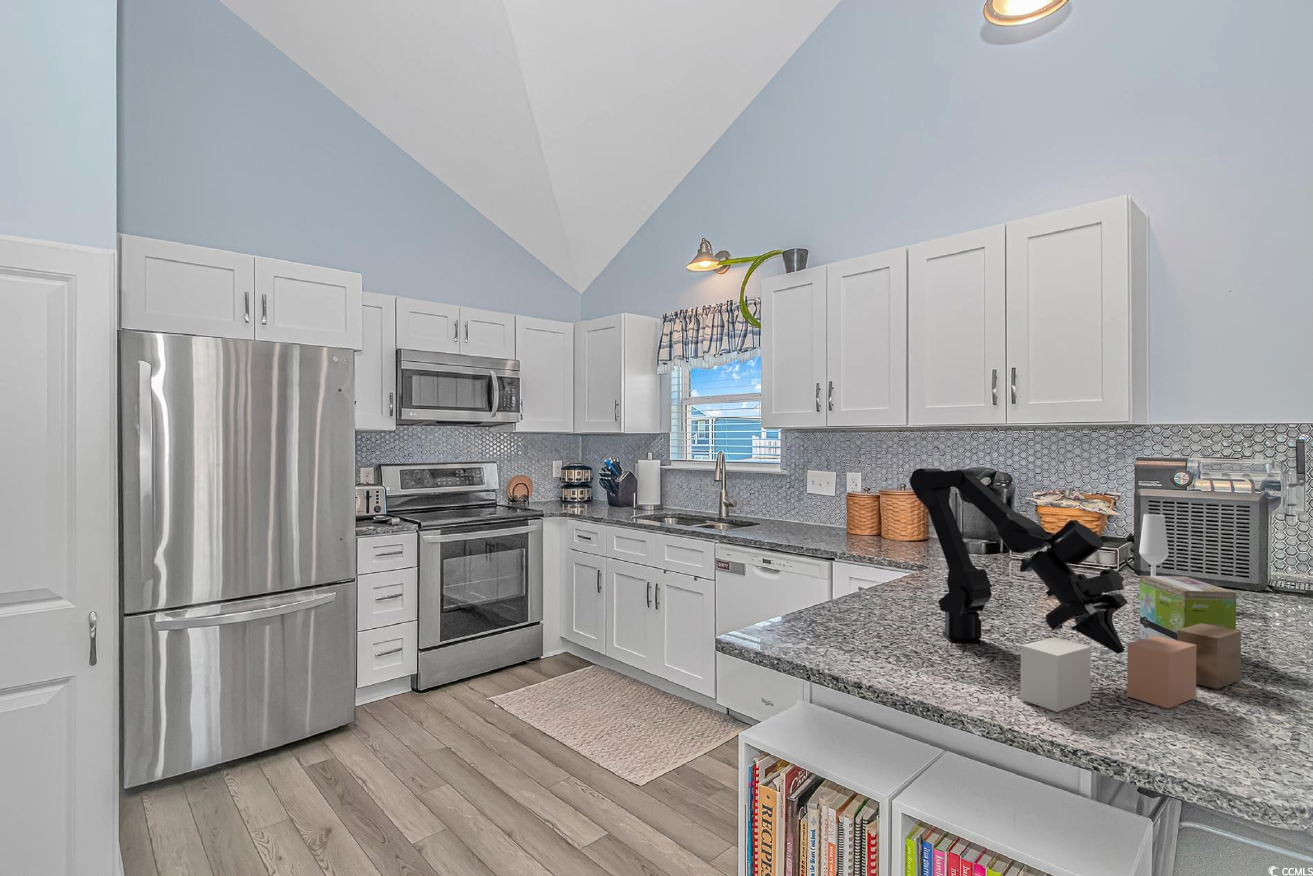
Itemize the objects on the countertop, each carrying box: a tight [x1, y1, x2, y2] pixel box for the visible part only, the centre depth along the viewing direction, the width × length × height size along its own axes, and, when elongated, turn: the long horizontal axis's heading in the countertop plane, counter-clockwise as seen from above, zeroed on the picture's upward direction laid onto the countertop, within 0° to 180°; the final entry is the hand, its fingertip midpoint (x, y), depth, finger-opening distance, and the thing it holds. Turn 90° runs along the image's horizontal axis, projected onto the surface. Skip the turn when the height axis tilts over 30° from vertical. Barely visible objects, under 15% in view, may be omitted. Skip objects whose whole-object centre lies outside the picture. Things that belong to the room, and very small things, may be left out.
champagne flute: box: [1138, 513, 1170, 576], centre depth 187 cm, size 7×7×24 cm
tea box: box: [1139, 574, 1237, 640], centre depth 139 cm, size 15×10×15 cm, turn 174°
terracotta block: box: [1126, 636, 1197, 709], centre depth 112 cm, size 6×10×9 cm, turn 120°
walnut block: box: [1177, 623, 1242, 690], centre depth 121 cm, size 6×10×9 cm, turn 120°
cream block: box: [1019, 637, 1092, 713], centre depth 110 cm, size 6×10×9 cm, turn 120°
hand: (1121, 652), depth 118 cm, fingers closed
